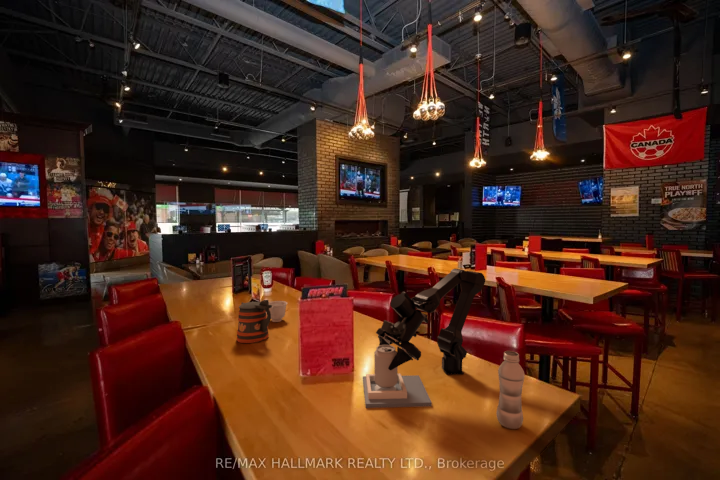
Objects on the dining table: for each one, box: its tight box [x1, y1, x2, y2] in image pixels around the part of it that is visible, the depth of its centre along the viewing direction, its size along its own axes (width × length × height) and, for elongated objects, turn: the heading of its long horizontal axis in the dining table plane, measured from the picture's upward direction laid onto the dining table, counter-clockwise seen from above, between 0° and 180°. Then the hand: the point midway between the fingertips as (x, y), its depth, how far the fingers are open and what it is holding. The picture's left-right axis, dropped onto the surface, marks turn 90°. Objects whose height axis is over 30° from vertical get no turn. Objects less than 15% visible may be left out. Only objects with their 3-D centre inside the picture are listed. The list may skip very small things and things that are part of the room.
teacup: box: [269, 300, 288, 323], centre depth 177 cm, size 12×15×10 cm
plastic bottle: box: [495, 350, 526, 430], centre depth 86 cm, size 6×7×20 cm
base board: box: [362, 373, 433, 409], centre depth 103 cm, size 20×17×3 cm
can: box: [373, 344, 399, 388], centre depth 102 cm, size 8×8×12 cm
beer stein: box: [236, 299, 272, 344], centre depth 150 cm, size 19×15×20 cm
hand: (382, 364), depth 102 cm, fingers closed on can, 7 cm apart
